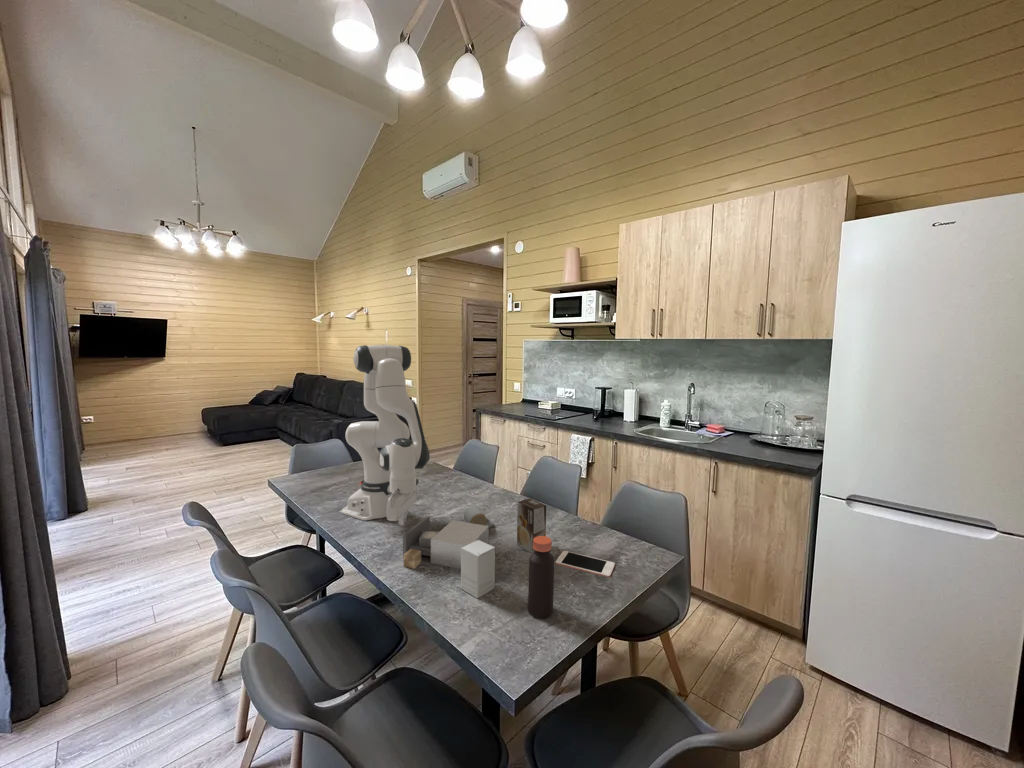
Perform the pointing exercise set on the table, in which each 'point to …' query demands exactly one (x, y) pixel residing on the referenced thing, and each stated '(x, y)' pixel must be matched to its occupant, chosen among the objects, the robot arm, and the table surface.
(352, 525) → the table surface
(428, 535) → the push button
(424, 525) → the tray
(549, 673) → the table surface
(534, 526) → the coffee box
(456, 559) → the housing
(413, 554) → the block
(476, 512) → the ceramic mug
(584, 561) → the cell phone
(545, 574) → the bottle
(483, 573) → the supplement box
